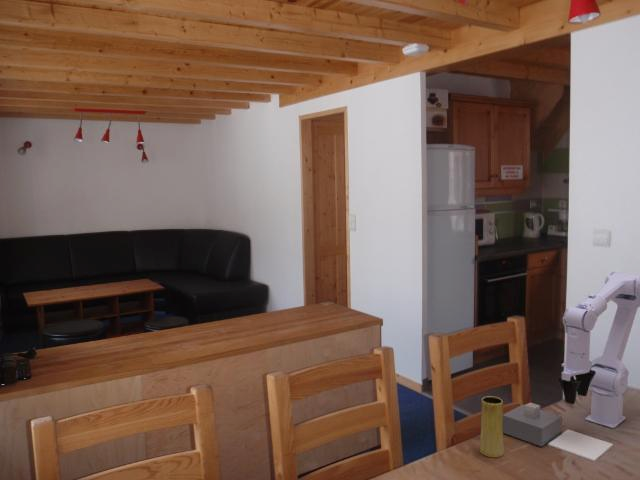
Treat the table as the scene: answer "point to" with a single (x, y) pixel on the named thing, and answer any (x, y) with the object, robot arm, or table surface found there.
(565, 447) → the mat
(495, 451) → the vase
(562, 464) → the table surface
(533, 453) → the table surface
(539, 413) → the cover
